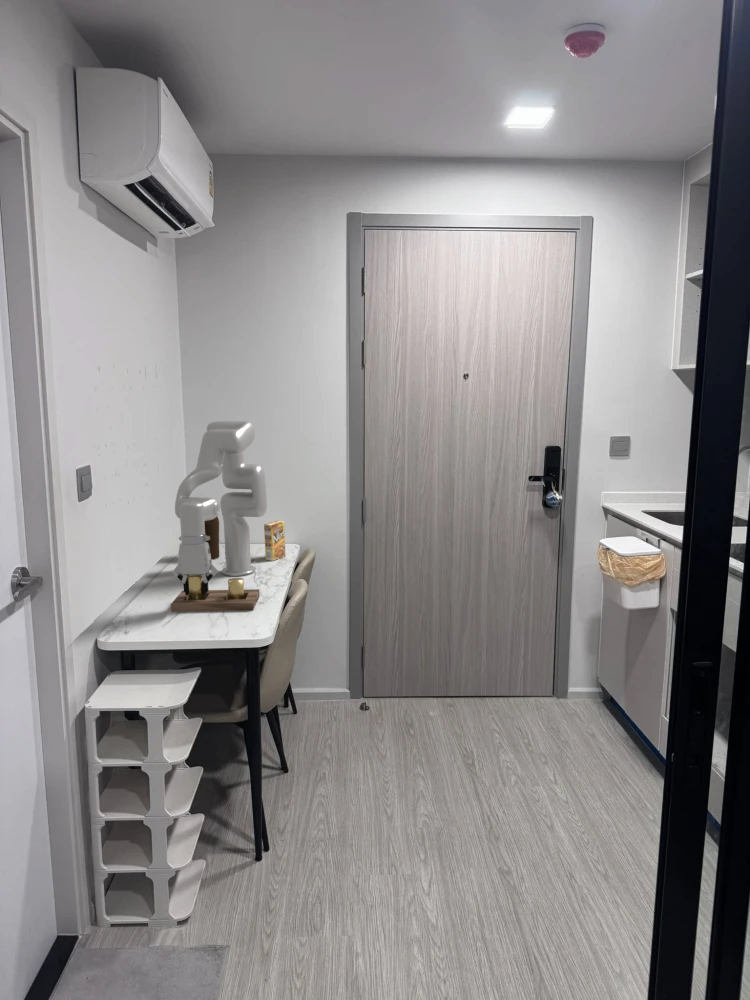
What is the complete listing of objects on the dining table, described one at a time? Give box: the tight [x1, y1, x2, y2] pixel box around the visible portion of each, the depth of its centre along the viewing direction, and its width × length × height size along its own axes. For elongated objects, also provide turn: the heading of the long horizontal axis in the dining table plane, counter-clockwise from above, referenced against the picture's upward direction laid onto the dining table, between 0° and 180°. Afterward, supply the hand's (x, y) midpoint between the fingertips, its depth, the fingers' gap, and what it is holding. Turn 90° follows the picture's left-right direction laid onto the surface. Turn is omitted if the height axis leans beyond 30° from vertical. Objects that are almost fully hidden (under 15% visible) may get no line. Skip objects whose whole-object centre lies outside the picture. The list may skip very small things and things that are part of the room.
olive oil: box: [204, 516, 220, 560], centre depth 276 cm, size 11×11×25 cm
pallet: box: [170, 588, 260, 613], centre depth 216 cm, size 14×26×4 cm, turn 92°
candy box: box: [263, 520, 287, 562], centre depth 275 cm, size 9×4×15 cm, turn 150°
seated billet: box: [227, 577, 245, 600], centre depth 215 cm, size 5×5×8 cm
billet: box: [187, 575, 204, 600], centre depth 214 cm, size 5×5×8 cm
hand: (196, 593), depth 215 cm, fingers closed on billet, 5 cm apart
